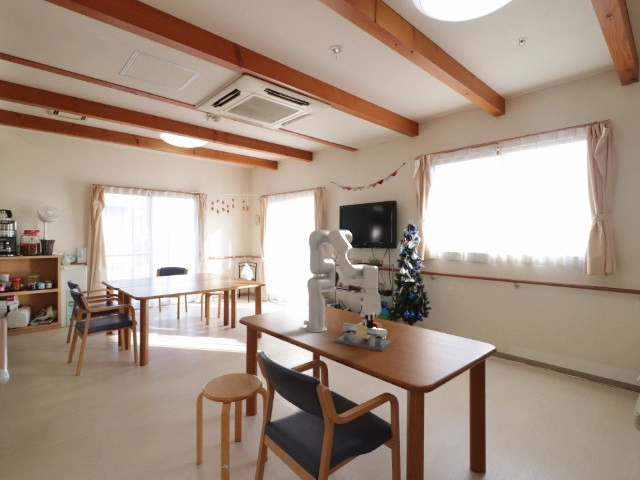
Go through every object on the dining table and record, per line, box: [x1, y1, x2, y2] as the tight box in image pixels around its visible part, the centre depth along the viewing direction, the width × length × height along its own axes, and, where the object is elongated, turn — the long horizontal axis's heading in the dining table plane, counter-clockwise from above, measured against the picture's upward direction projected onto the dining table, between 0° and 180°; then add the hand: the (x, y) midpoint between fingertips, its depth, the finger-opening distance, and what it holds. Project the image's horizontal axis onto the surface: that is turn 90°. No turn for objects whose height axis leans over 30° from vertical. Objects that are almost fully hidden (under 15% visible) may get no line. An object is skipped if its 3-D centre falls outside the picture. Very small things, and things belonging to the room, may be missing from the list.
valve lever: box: [361, 318, 383, 329], centre depth 172 cm, size 14×3×3 cm, turn 26°
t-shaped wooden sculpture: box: [348, 283, 394, 319], centre depth 208 cm, size 32×10×30 cm, turn 48°
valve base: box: [335, 321, 393, 352], centre depth 178 cm, size 26×14×10 cm, turn 58°
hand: (369, 327), depth 167 cm, fingers closed
